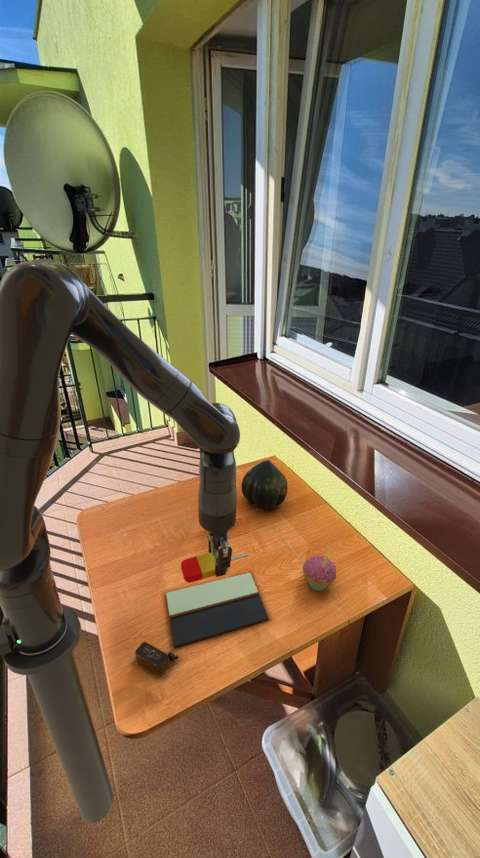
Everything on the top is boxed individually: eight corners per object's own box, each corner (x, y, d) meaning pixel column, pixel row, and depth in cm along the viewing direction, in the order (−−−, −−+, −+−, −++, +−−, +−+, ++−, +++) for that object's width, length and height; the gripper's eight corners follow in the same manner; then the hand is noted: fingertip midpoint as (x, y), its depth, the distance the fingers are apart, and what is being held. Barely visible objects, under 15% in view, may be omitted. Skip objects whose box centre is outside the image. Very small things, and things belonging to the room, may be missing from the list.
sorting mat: (174, 648, 79) (174, 645, 78) (166, 594, 90) (165, 591, 90) (268, 619, 86) (268, 617, 86) (250, 573, 98) (250, 571, 97)
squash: (254, 510, 112) (281, 467, 113) (225, 488, 122) (251, 448, 123) (279, 521, 123) (304, 482, 124) (251, 500, 132) (274, 464, 134)
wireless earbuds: (163, 679, 73) (162, 669, 72) (135, 662, 76) (133, 652, 74) (179, 658, 77) (178, 648, 75) (151, 643, 79) (150, 633, 78)
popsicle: (179, 565, 82) (179, 559, 81) (244, 548, 88) (244, 542, 87) (185, 585, 78) (185, 578, 77) (253, 565, 84) (253, 559, 83)
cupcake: (340, 589, 96) (348, 554, 90) (312, 602, 92) (319, 566, 86) (321, 565, 102) (327, 532, 97) (294, 576, 98) (299, 542, 93)
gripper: (191, 484, 79) (193, 545, 87) (206, 529, 68) (207, 594, 75) (226, 479, 82) (225, 538, 90) (246, 521, 70) (243, 585, 78)
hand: (217, 563), depth 83 cm, fingers closed on popsicle, 5 cm apart
